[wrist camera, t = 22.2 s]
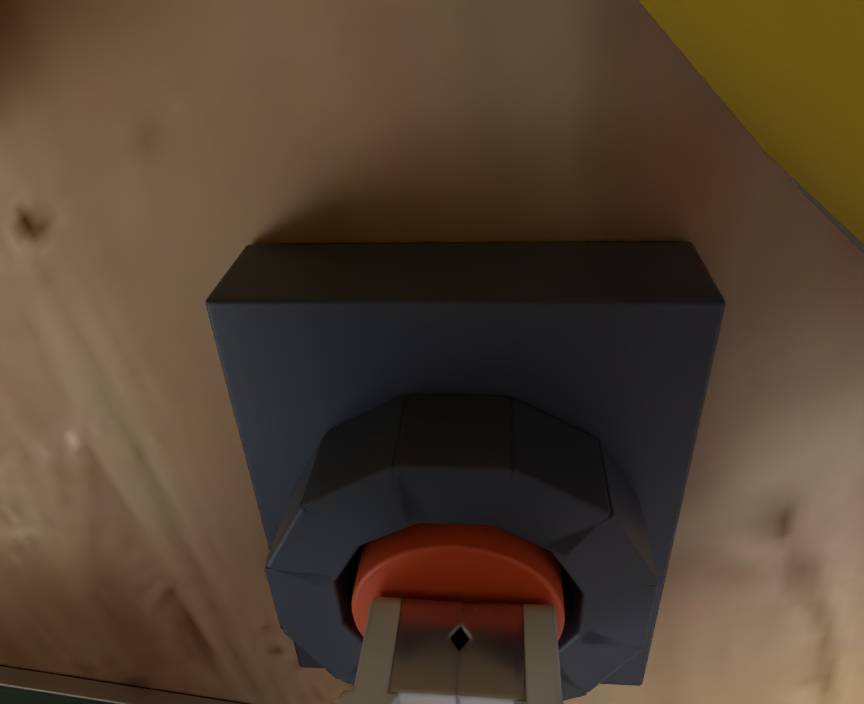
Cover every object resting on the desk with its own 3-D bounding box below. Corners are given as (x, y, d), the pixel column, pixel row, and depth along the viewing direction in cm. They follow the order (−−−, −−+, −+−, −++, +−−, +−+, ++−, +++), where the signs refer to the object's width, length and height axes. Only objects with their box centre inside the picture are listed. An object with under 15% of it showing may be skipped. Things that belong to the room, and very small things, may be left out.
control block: (627, 604, 17) (658, 771, 14) (319, 590, 18) (278, 746, 15) (692, 240, 12) (767, 372, 8) (246, 243, 13) (154, 364, 9)
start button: (552, 604, 14) (559, 686, 12) (376, 595, 14) (361, 676, 13) (564, 471, 12) (572, 552, 10) (358, 466, 12) (338, 543, 11)
